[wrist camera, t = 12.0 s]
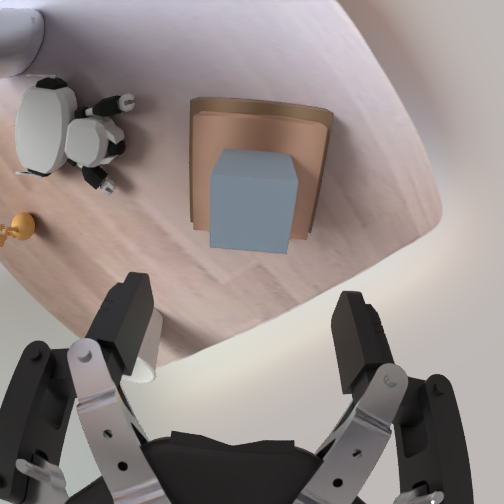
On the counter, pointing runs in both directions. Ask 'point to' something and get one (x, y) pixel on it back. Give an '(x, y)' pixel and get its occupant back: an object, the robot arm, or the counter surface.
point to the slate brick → (252, 201)
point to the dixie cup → (148, 352)
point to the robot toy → (68, 132)
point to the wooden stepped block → (258, 148)
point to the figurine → (19, 228)
